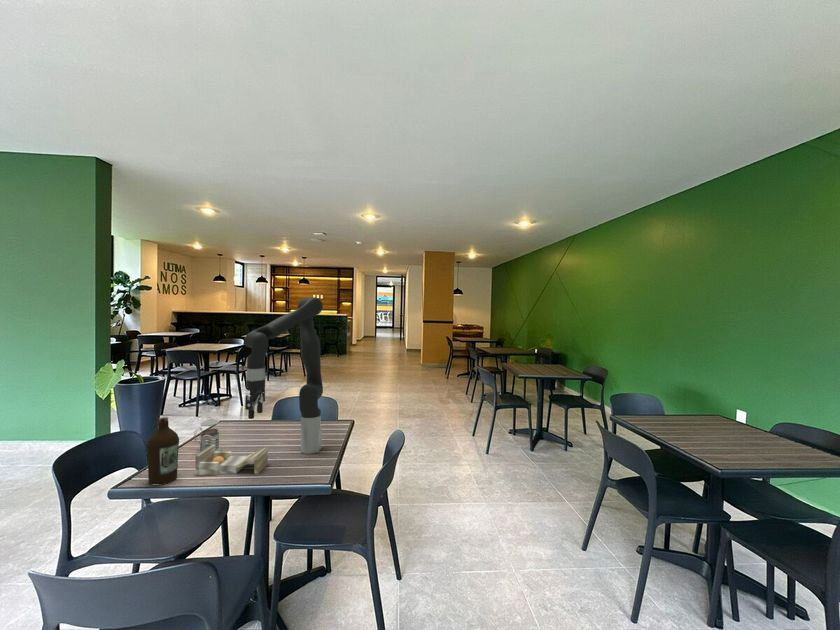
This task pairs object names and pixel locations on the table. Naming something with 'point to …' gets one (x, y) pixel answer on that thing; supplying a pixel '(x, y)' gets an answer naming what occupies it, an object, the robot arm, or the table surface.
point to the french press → (211, 432)
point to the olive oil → (162, 454)
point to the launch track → (228, 462)
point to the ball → (218, 459)
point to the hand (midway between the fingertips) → (255, 415)
